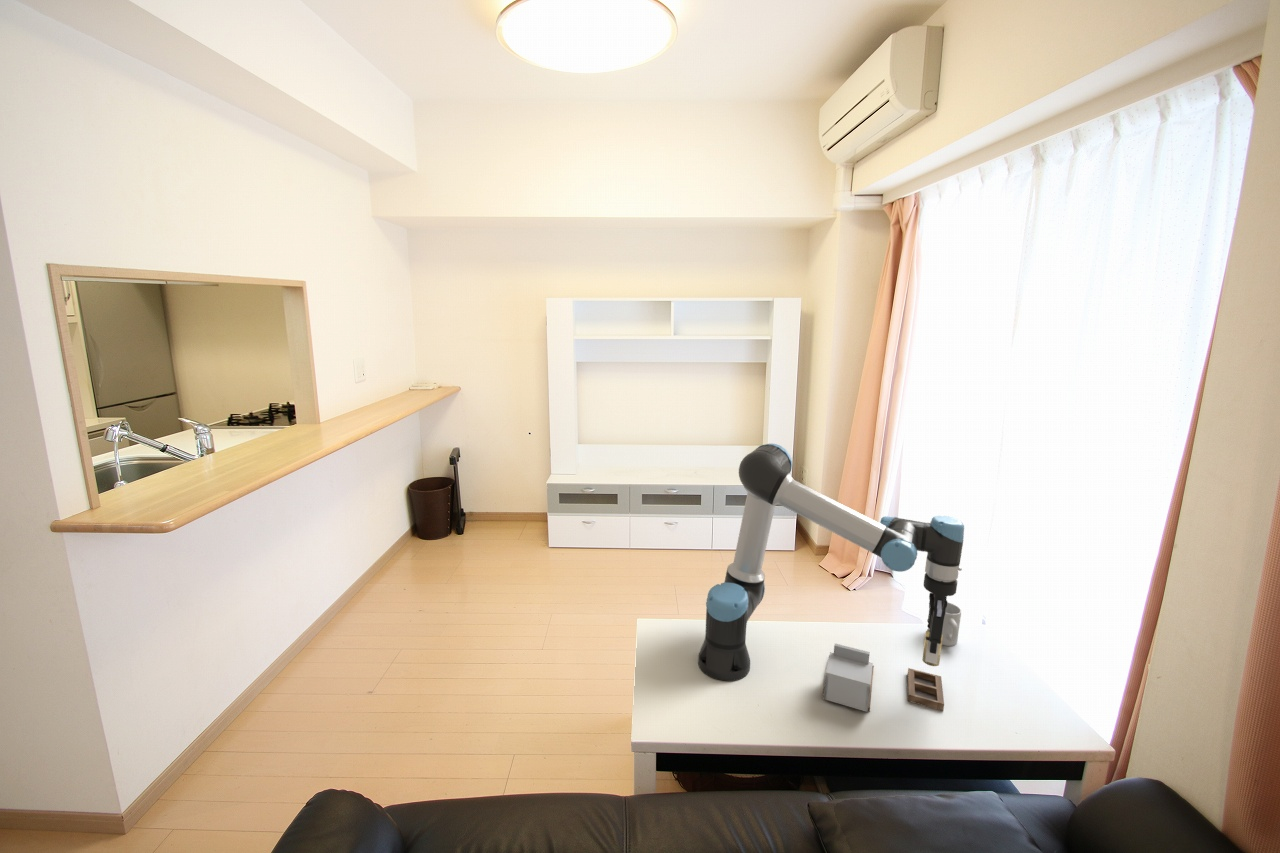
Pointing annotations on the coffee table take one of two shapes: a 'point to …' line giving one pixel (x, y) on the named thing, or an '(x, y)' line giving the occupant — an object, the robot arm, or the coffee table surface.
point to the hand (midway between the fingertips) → (930, 657)
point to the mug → (951, 625)
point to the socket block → (925, 689)
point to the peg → (926, 648)
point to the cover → (848, 677)
